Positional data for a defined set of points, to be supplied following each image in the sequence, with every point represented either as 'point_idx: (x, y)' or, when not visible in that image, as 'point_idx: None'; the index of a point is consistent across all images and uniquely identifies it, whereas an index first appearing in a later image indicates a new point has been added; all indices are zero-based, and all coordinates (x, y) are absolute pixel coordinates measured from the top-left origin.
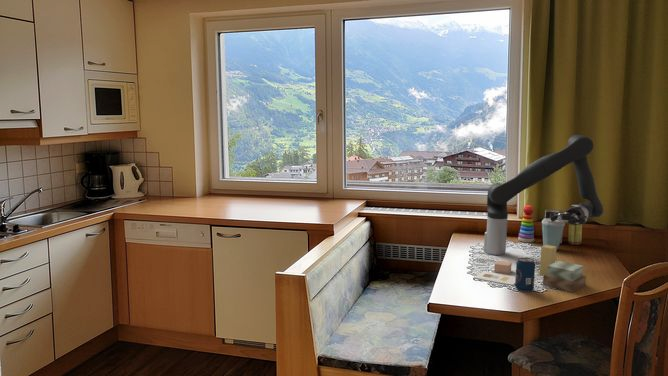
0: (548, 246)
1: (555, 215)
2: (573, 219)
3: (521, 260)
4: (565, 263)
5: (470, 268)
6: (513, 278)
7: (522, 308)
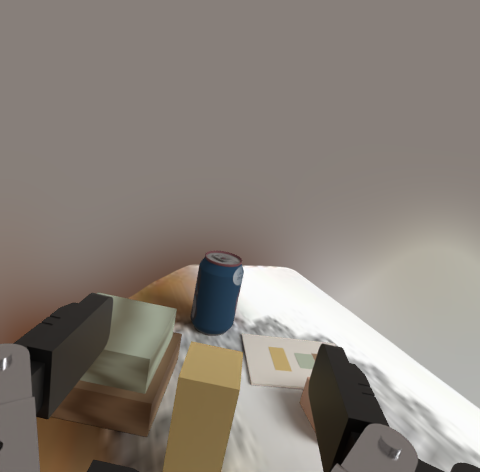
0: (216, 364)
1: (356, 408)
2: (83, 301)
3: (231, 257)
4: (120, 339)
5: (411, 404)
6: (264, 369)
7: (184, 271)
